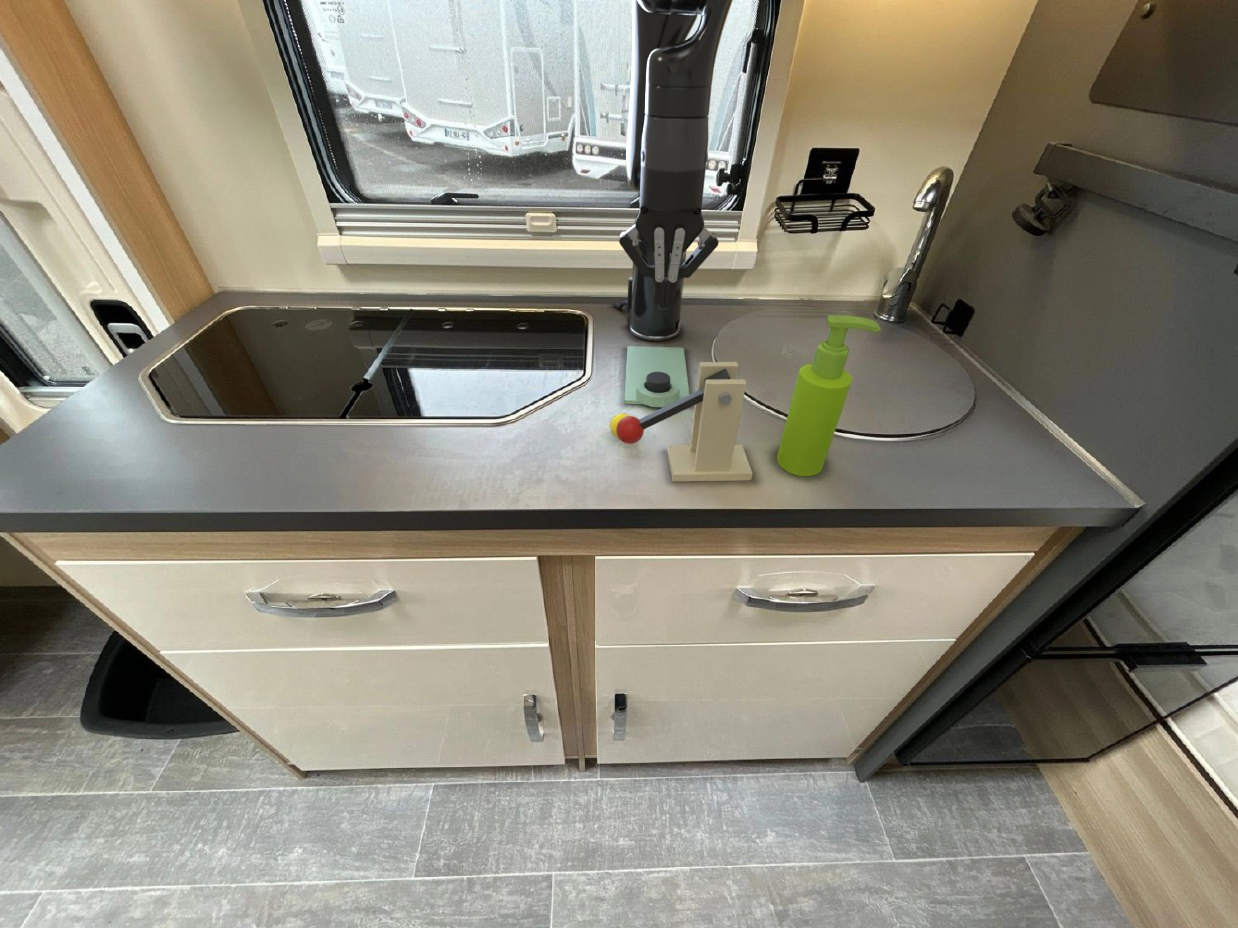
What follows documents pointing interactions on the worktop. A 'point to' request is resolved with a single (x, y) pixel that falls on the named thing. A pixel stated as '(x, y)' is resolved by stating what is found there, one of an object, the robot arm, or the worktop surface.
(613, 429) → the yellow rounded piece
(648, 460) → the worktop surface
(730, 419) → the bracket
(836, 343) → the soap dispenser
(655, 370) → the button block
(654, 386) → the button
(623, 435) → the lever
